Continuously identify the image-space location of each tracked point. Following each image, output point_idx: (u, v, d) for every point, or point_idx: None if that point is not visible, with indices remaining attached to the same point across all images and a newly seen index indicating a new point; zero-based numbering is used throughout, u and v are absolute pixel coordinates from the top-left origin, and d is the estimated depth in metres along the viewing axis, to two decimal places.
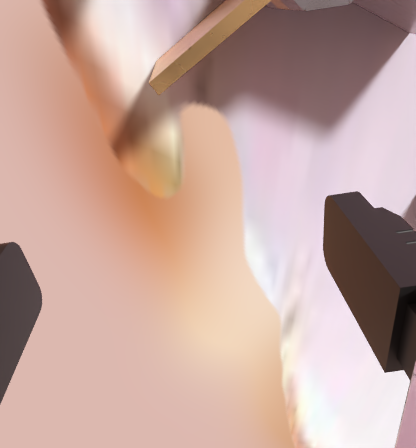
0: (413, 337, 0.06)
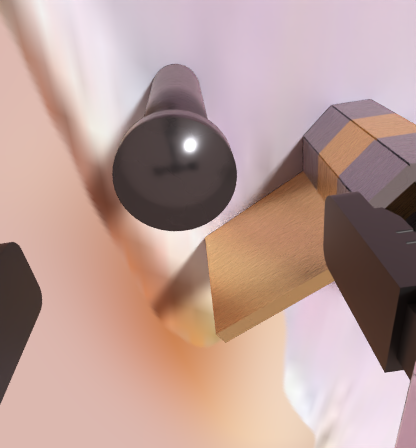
0: (413, 337, 0.06)
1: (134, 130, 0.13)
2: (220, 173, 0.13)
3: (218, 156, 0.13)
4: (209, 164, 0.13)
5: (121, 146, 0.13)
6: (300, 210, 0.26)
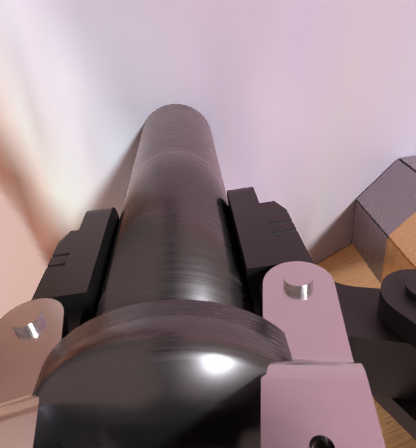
0: (262, 312, 0.07)
1: (62, 383, 0.04)
2: None
3: None
4: None
5: None
6: None
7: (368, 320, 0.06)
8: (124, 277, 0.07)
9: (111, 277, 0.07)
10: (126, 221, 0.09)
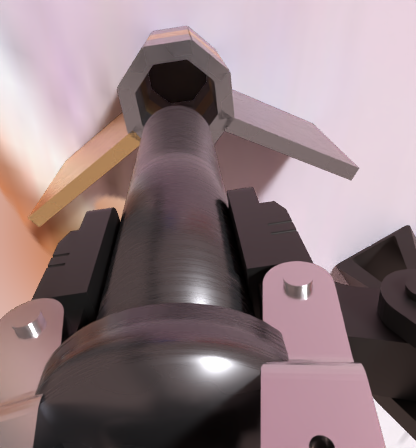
0: (262, 312, 0.07)
1: (64, 386, 0.05)
2: None
3: None
4: None
5: None
6: (121, 121, 0.30)
7: (368, 320, 0.06)
8: (125, 279, 0.07)
9: (112, 279, 0.07)
10: (127, 223, 0.09)
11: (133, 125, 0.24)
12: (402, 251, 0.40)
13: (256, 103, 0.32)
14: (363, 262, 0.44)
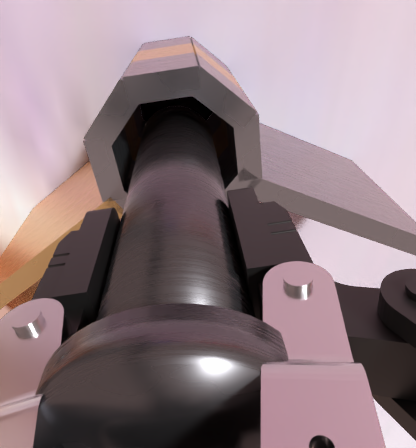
0: (262, 312, 0.07)
1: (64, 387, 0.05)
2: None
3: None
4: None
5: None
6: None
7: (368, 320, 0.06)
8: (125, 280, 0.07)
9: (112, 280, 0.07)
10: (127, 223, 0.09)
11: (110, 191, 0.16)
12: None
13: (282, 138, 0.24)
14: None
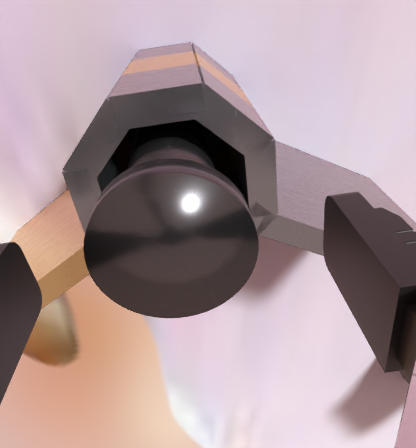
0: (413, 337, 0.06)
1: (113, 192, 0.09)
2: (235, 245, 0.10)
3: (234, 224, 0.09)
4: (221, 234, 0.09)
5: (95, 215, 0.09)
6: None
7: None
8: None
9: None
10: (137, 147, 0.13)
11: None
12: None
13: (294, 156, 0.21)
14: None
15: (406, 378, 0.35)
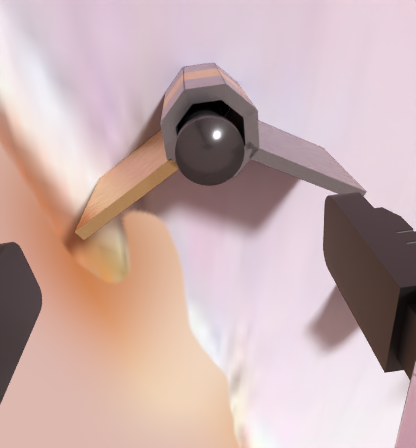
0: (413, 337, 0.06)
1: (189, 125, 0.23)
2: (235, 150, 0.24)
3: (234, 140, 0.23)
4: (229, 145, 0.24)
5: (181, 134, 0.23)
6: (155, 146, 0.33)
7: None
8: None
9: None
10: (189, 115, 0.27)
11: (172, 153, 0.27)
12: None
13: (273, 130, 0.36)
14: None
15: None
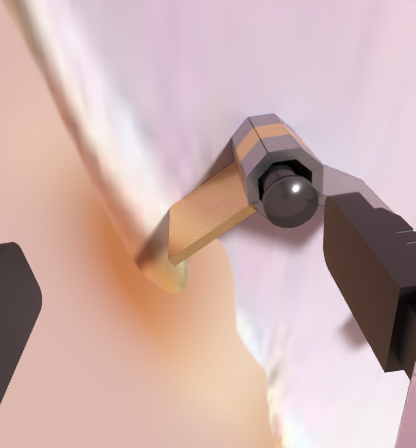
0: (413, 337, 0.06)
1: (277, 184, 0.30)
2: (311, 202, 0.31)
3: (311, 195, 0.30)
4: (307, 198, 0.30)
5: (271, 191, 0.30)
6: (226, 185, 0.40)
7: None
8: (274, 176, 0.32)
9: (270, 178, 0.33)
10: None
11: (253, 199, 0.34)
12: None
13: None
14: None
15: None
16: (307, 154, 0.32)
